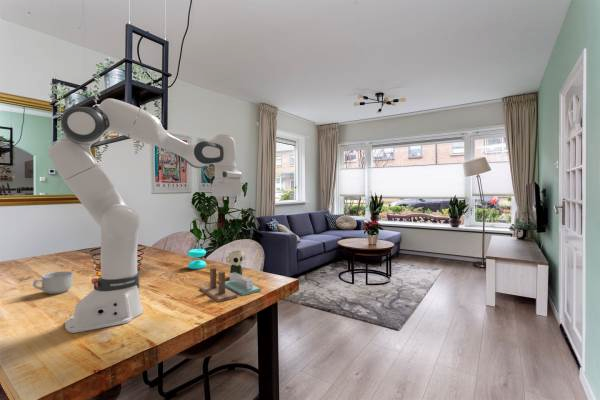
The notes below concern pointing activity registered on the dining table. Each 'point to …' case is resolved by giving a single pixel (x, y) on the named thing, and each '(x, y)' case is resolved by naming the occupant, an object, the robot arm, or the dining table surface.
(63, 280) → the teacup
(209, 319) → the dining table surface
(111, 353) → the dining table surface
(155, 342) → the dining table surface
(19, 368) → the dining table surface
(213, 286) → the stand
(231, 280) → the rail
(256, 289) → the board
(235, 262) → the character mug
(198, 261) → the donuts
